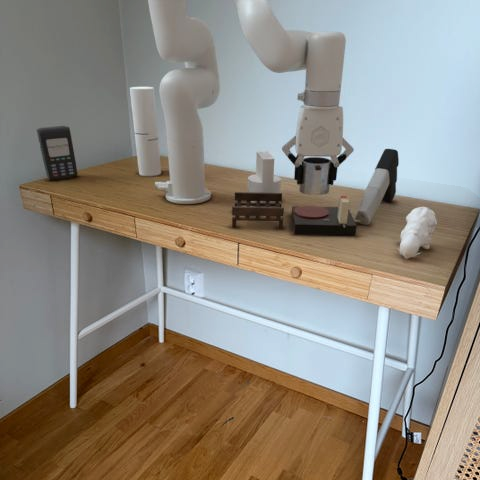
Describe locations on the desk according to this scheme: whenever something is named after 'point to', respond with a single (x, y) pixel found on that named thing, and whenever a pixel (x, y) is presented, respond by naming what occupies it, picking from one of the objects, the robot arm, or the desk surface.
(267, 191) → the base with upright slab
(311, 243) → the desk surface
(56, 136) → the card reader
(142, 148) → the cylindrical container
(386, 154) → the handheld device
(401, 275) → the desk surface
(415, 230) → the white animal figurine
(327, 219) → the hob
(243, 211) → the drying rack
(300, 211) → the hot plate
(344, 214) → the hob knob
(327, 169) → the steel pot
